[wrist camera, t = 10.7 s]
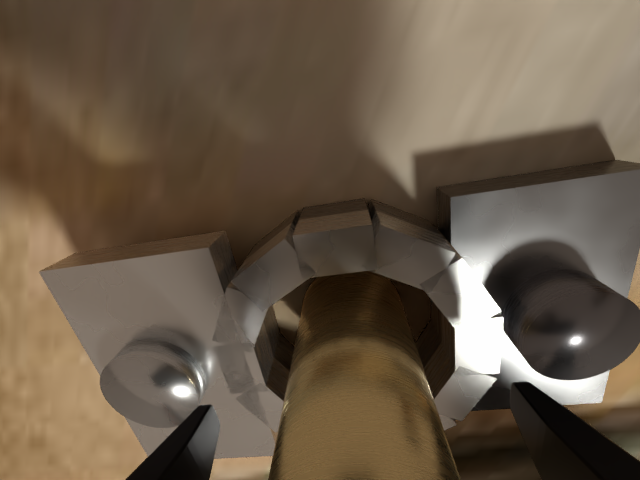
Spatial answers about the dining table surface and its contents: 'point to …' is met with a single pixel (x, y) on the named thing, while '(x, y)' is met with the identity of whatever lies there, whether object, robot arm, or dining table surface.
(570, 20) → the dining table surface
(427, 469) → the pin
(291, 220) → the lower link
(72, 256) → the upper link
